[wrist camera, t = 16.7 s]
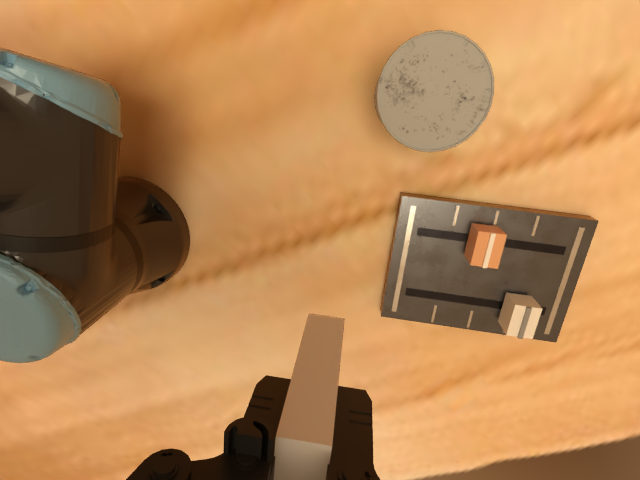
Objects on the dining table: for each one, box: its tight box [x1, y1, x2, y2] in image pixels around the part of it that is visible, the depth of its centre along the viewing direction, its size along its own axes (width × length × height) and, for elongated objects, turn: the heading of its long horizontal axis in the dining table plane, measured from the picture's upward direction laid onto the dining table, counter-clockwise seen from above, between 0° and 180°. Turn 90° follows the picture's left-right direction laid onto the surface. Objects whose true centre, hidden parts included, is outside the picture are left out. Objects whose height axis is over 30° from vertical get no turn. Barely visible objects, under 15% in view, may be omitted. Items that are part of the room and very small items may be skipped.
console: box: [381, 192, 598, 342], centre depth 50 cm, size 22×16×2 cm
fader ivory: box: [498, 292, 542, 339], centre depth 48 cm, size 3×4×4 cm
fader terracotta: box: [464, 223, 507, 269], centre depth 45 cm, size 3×4×4 cm
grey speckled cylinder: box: [375, 30, 494, 152], centre depth 39 cm, size 10×10×12 cm
